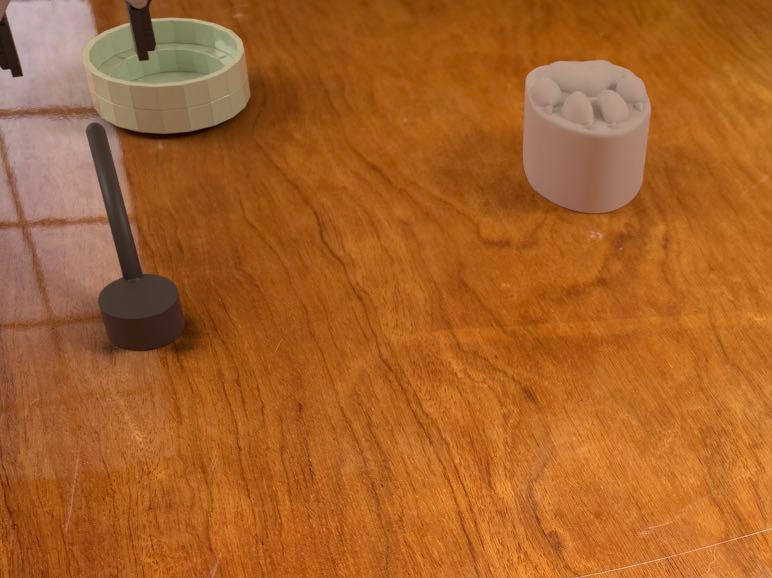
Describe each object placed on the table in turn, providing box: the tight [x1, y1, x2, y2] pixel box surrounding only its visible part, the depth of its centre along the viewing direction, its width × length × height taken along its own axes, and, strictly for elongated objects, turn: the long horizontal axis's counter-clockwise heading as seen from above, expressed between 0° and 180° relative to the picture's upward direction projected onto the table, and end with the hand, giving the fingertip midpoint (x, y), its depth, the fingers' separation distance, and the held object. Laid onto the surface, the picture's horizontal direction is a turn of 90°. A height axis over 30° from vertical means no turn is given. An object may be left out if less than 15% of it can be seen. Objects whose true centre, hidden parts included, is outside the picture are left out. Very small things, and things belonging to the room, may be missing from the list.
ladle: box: [85, 122, 186, 351], centre depth 86 cm, size 16×6×10 cm, turn 22°
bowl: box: [82, 17, 252, 135], centre depth 108 cm, size 14×14×5 cm
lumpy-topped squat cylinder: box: [522, 59, 652, 215], centre depth 101 cm, size 10×13×9 cm
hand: (80, 64), depth 82 cm, fingers open, 8 cm apart
